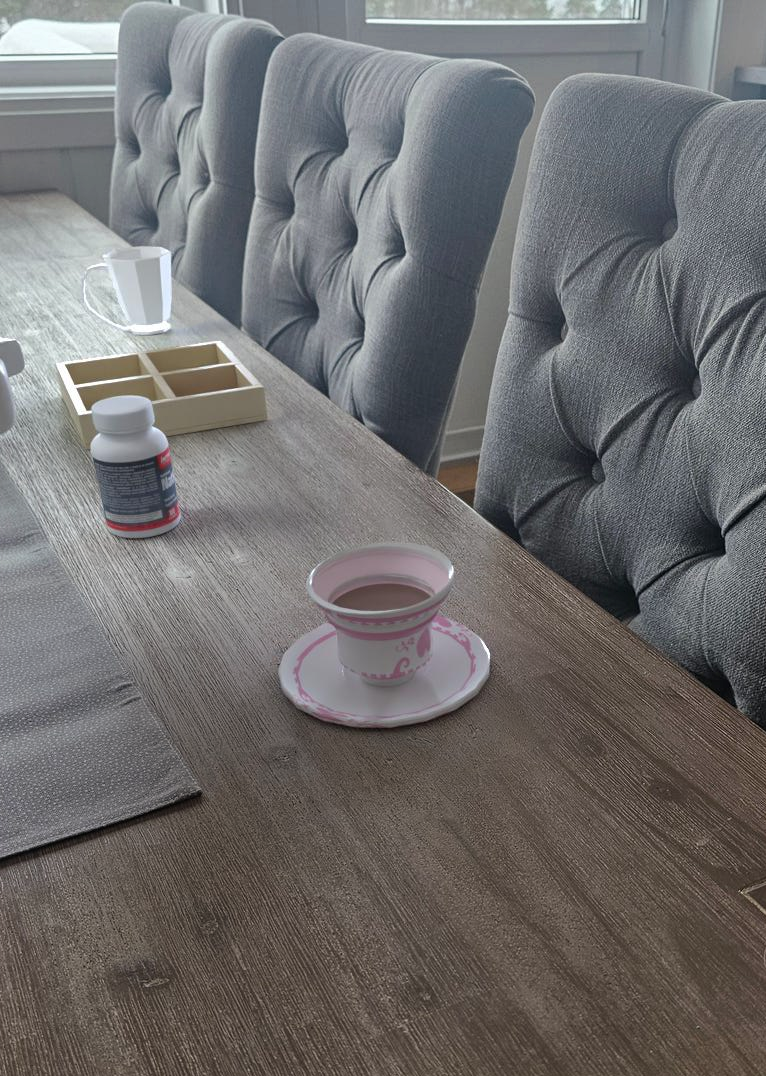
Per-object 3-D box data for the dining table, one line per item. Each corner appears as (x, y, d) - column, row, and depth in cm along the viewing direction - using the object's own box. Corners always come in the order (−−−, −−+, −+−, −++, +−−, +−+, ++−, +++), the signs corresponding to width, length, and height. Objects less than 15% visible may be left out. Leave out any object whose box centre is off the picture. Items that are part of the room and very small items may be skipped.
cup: (181, 336, 121) (168, 258, 117) (85, 342, 120) (69, 264, 115) (184, 318, 127) (172, 244, 122) (93, 324, 125) (77, 249, 121)
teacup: (419, 757, 57) (413, 653, 54) (234, 695, 62) (218, 597, 59) (527, 647, 66) (528, 552, 62) (358, 601, 71) (350, 511, 67)
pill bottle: (184, 534, 79) (162, 413, 75) (107, 544, 78) (81, 422, 73) (179, 505, 84) (158, 388, 79) (106, 514, 82) (81, 396, 78)
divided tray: (61, 394, 105) (54, 363, 104) (225, 370, 111) (221, 340, 109) (85, 450, 93) (78, 415, 92) (268, 420, 99) (264, 386, 97)
